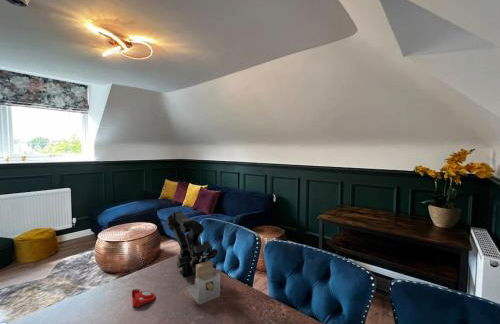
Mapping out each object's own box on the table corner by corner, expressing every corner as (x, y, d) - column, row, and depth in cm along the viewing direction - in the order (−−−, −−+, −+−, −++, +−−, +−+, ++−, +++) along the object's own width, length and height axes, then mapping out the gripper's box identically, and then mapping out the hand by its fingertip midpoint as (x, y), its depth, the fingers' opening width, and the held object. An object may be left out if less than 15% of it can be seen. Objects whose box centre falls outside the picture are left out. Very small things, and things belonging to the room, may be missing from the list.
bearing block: (186, 287, 109) (186, 267, 108) (206, 280, 114) (206, 262, 114) (198, 305, 97) (198, 282, 96) (220, 296, 102) (220, 275, 102)
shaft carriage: (196, 293, 103) (195, 264, 102) (210, 288, 107) (210, 260, 106) (204, 303, 96) (203, 273, 95) (219, 297, 100) (219, 268, 99)
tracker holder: (159, 291, 104) (149, 300, 94) (156, 302, 103) (145, 312, 94) (134, 284, 105) (121, 292, 95) (131, 294, 104) (118, 303, 95)
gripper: (178, 240, 103) (187, 276, 94) (216, 232, 113) (227, 263, 105) (173, 251, 110) (181, 285, 101) (209, 242, 120) (219, 272, 112)
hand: (203, 276), depth 105 cm, fingers closed, pressing on shaft carriage
